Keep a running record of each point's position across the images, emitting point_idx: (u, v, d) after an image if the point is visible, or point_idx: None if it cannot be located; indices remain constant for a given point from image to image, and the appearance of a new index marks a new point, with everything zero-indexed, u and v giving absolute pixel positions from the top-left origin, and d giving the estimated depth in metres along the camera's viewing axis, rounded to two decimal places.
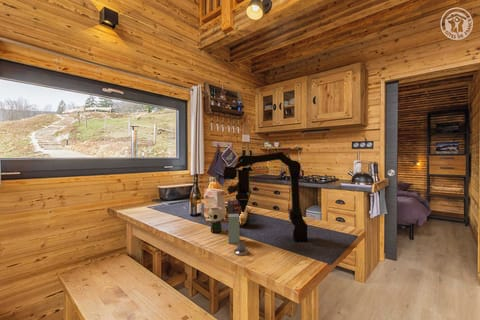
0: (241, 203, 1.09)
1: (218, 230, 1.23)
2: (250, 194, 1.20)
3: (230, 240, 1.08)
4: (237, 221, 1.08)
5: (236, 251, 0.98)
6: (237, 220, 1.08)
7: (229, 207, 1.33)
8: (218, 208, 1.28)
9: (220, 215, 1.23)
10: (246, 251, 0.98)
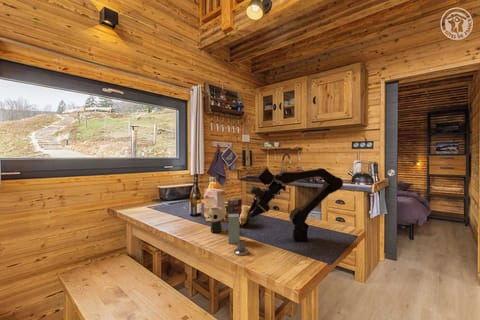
0: (256, 209, 1.05)
1: (218, 230, 1.23)
2: None
3: (230, 240, 1.08)
4: (237, 221, 1.08)
5: (236, 251, 0.98)
6: (237, 220, 1.08)
7: (229, 207, 1.33)
8: (218, 208, 1.28)
9: (220, 215, 1.23)
10: (246, 251, 0.98)
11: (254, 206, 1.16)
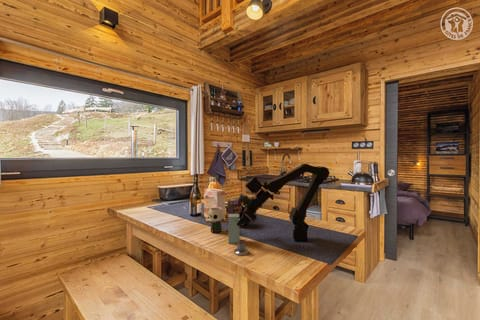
0: (243, 218, 1.05)
1: (218, 230, 1.23)
2: None
3: (230, 240, 1.08)
4: (237, 221, 1.08)
5: (236, 251, 0.98)
6: (237, 220, 1.08)
7: (229, 207, 1.33)
8: (218, 208, 1.28)
9: (220, 215, 1.23)
10: (246, 251, 0.98)
11: (242, 214, 1.16)
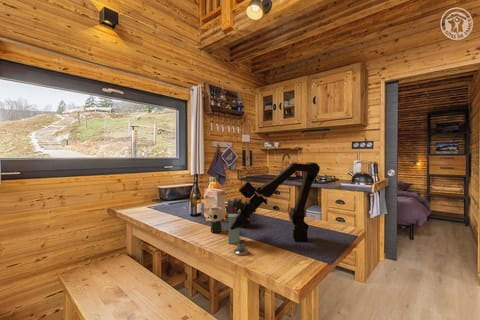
0: (236, 222, 1.07)
1: (218, 230, 1.23)
2: None
3: (230, 240, 1.08)
4: None
5: (236, 251, 0.98)
6: None
7: (229, 207, 1.33)
8: (218, 208, 1.28)
9: (220, 215, 1.23)
10: (246, 251, 0.98)
11: None
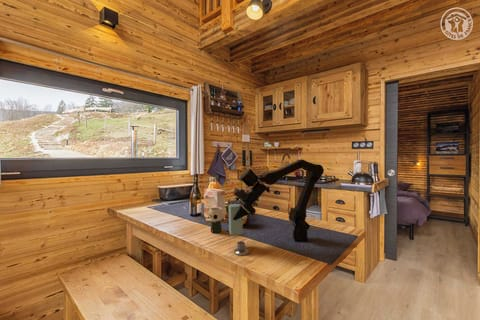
0: (240, 212, 1.01)
1: (218, 230, 1.23)
2: None
3: (233, 231, 1.02)
4: None
5: (236, 251, 0.98)
6: None
7: None
8: (218, 208, 1.28)
9: (220, 215, 1.23)
10: (246, 251, 0.98)
11: None
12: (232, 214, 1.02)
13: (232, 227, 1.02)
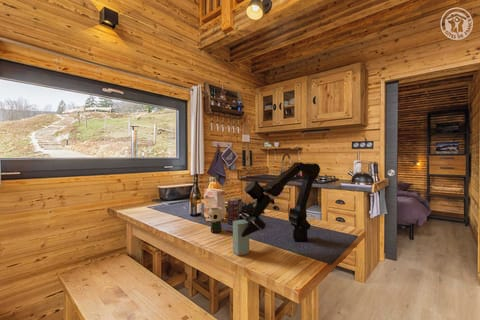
0: (249, 227, 0.94)
1: (218, 230, 1.23)
2: None
3: (240, 250, 0.95)
4: None
5: None
6: None
7: (229, 207, 1.33)
8: (218, 208, 1.28)
9: (220, 215, 1.23)
10: None
11: None
12: (239, 232, 0.95)
13: (239, 246, 0.95)
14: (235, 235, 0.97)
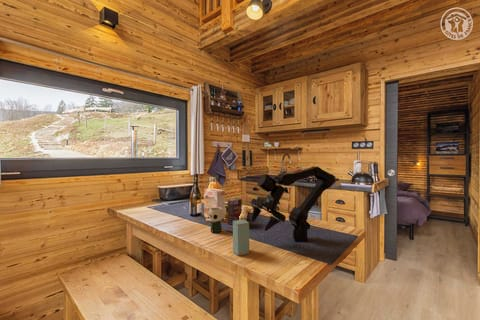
0: (271, 222, 1.00)
1: (218, 230, 1.23)
2: (260, 210, 1.12)
3: (240, 250, 0.95)
4: (247, 228, 0.97)
5: None
6: (247, 226, 0.97)
7: (229, 207, 1.33)
8: (218, 208, 1.28)
9: (220, 215, 1.23)
10: None
11: (256, 214, 1.09)
12: (239, 232, 0.95)
13: (239, 246, 0.95)
14: (235, 235, 0.97)
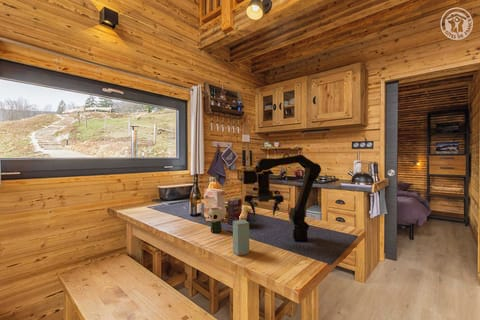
0: None
1: (218, 230, 1.23)
2: (252, 199, 1.13)
3: (240, 250, 0.95)
4: (247, 228, 0.97)
5: None
6: (247, 226, 0.97)
7: (229, 207, 1.33)
8: (218, 208, 1.28)
9: (220, 215, 1.23)
10: None
11: (254, 207, 1.11)
12: (239, 232, 0.95)
13: (239, 246, 0.95)
14: (235, 235, 0.97)
